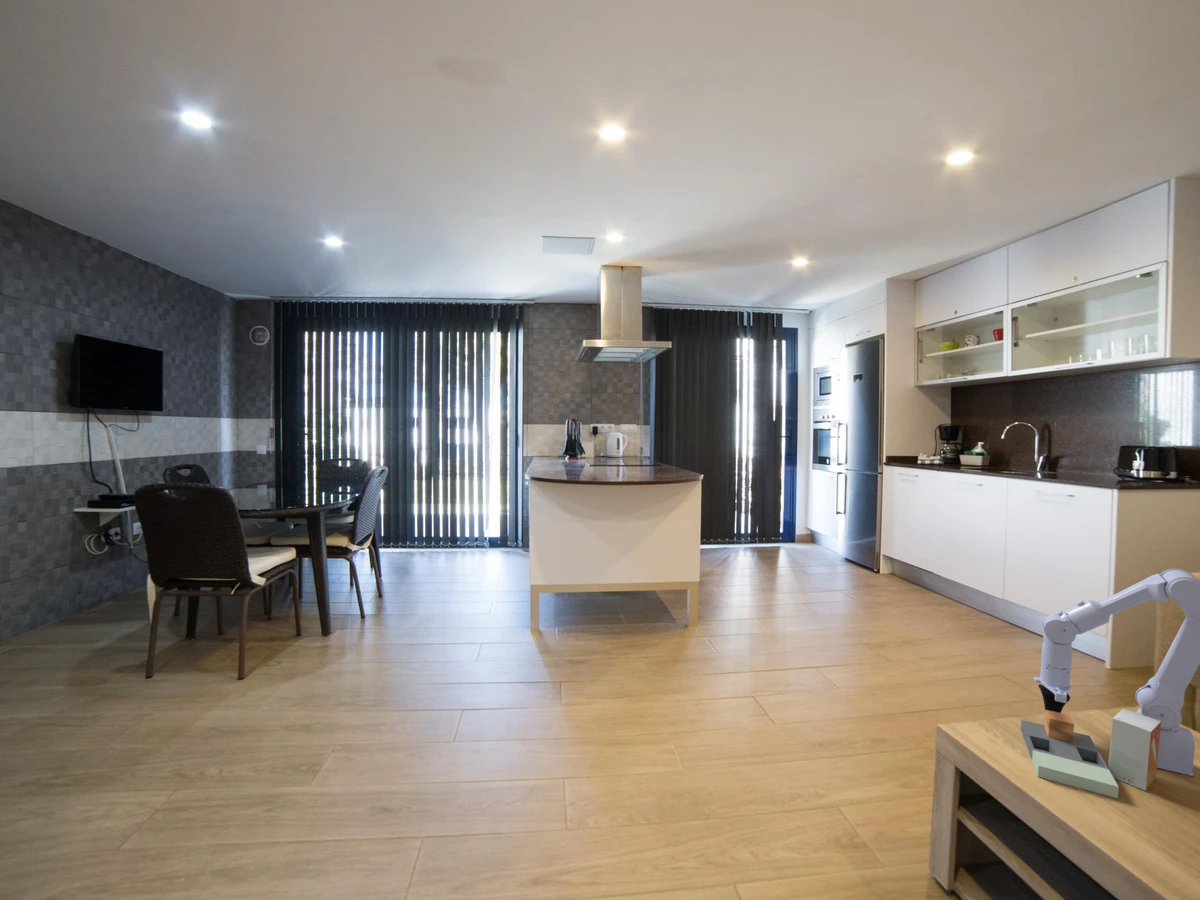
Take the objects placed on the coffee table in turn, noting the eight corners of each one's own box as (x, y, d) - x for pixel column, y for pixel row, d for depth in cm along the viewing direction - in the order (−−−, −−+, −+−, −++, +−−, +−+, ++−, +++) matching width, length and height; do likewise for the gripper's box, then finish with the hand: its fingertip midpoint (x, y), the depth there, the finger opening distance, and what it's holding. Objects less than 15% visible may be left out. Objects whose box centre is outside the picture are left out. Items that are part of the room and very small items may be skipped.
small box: (1146, 792, 114) (1151, 732, 114) (1106, 775, 120) (1111, 717, 119) (1157, 778, 119) (1162, 720, 118) (1117, 762, 124) (1122, 707, 123)
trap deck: (1088, 746, 130) (1089, 735, 130) (1117, 798, 112) (1118, 786, 112) (1020, 729, 137) (1021, 719, 137) (1037, 776, 119) (1038, 765, 118)
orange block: (1067, 733, 131) (1069, 714, 131) (1072, 742, 127) (1074, 723, 127) (1044, 727, 133) (1045, 709, 133) (1048, 736, 130) (1049, 718, 129)
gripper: (1030, 650, 144) (1026, 700, 145) (1041, 672, 131) (1037, 726, 132) (1064, 656, 140) (1060, 707, 141) (1079, 679, 128) (1075, 735, 129)
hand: (1051, 717), depth 136 cm, fingers closed
